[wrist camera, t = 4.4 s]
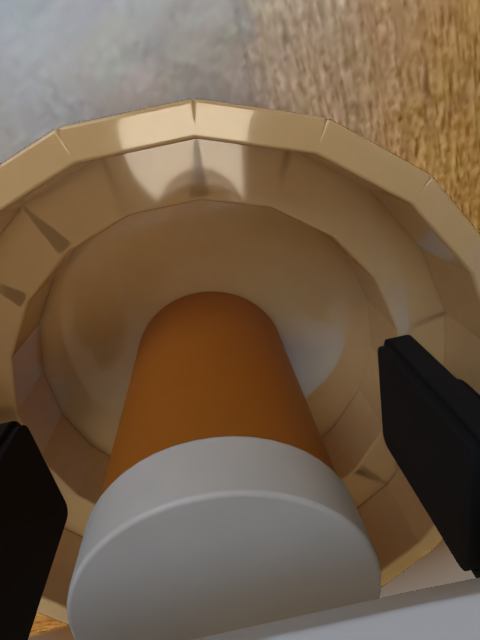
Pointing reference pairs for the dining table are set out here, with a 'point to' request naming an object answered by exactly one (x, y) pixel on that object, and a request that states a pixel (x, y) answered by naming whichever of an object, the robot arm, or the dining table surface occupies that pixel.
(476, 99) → the dining table surface
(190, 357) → the pill bottle
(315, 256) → the beige round dish
